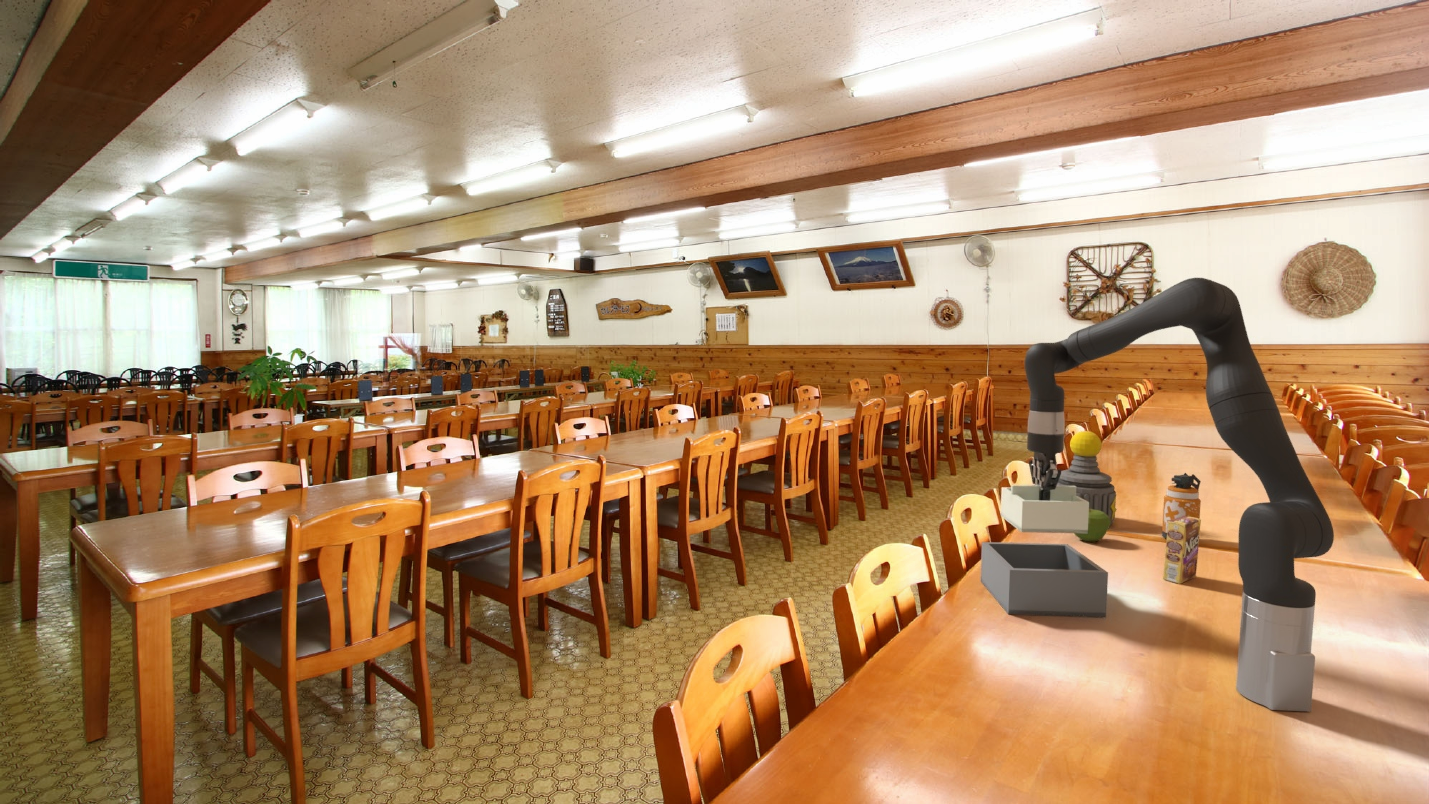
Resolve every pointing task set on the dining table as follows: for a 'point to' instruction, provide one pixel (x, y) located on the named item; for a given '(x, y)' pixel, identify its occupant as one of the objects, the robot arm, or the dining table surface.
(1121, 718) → the dining table surface
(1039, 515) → the small crate
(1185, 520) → the candy box
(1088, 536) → the apple
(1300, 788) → the dining table surface
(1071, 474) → the decorative lamp
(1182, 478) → the canister
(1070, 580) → the big crate
